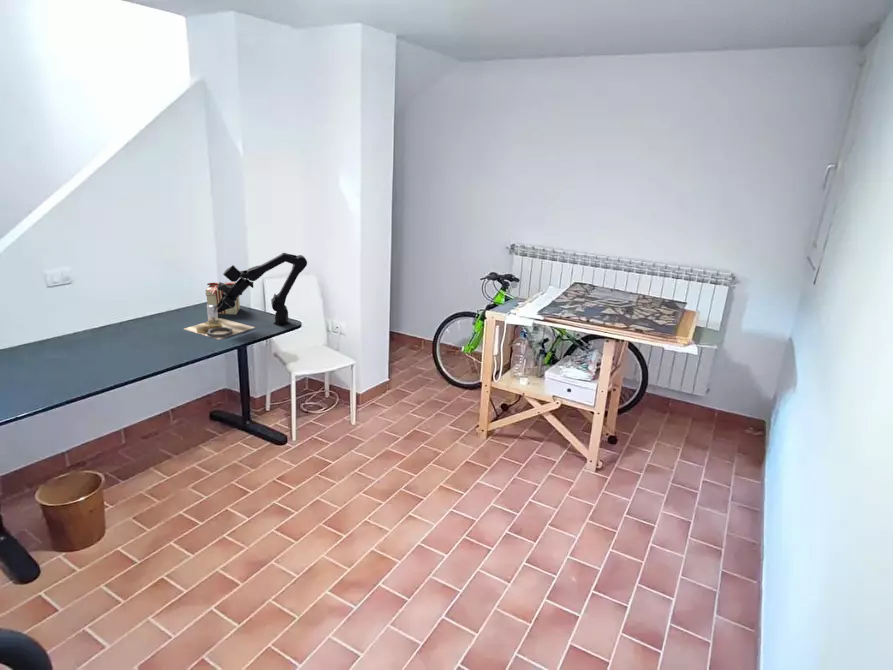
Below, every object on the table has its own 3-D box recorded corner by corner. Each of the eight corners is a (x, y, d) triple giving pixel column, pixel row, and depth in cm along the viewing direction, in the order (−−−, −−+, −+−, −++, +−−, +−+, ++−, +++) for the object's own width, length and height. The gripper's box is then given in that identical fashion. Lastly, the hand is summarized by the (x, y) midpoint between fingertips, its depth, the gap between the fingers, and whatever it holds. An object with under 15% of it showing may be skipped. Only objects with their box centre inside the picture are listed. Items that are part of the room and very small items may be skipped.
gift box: (206, 318, 301) (203, 287, 295) (211, 308, 318) (208, 279, 312) (240, 317, 305) (237, 287, 300) (243, 307, 322) (240, 278, 316)
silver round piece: (214, 322, 292) (212, 302, 288) (224, 325, 288) (223, 305, 285) (202, 326, 285) (200, 305, 282) (212, 329, 282) (210, 308, 278)
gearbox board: (220, 319, 300) (220, 313, 299) (255, 329, 288) (254, 322, 287) (183, 330, 281) (182, 324, 279) (218, 341, 269) (218, 334, 268)
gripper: (226, 273, 289) (204, 294, 289) (226, 281, 273) (204, 304, 273) (243, 287, 295) (222, 308, 294) (244, 296, 278) (222, 318, 278)
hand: (217, 309), depth 285 cm, fingers open, 9 cm apart
